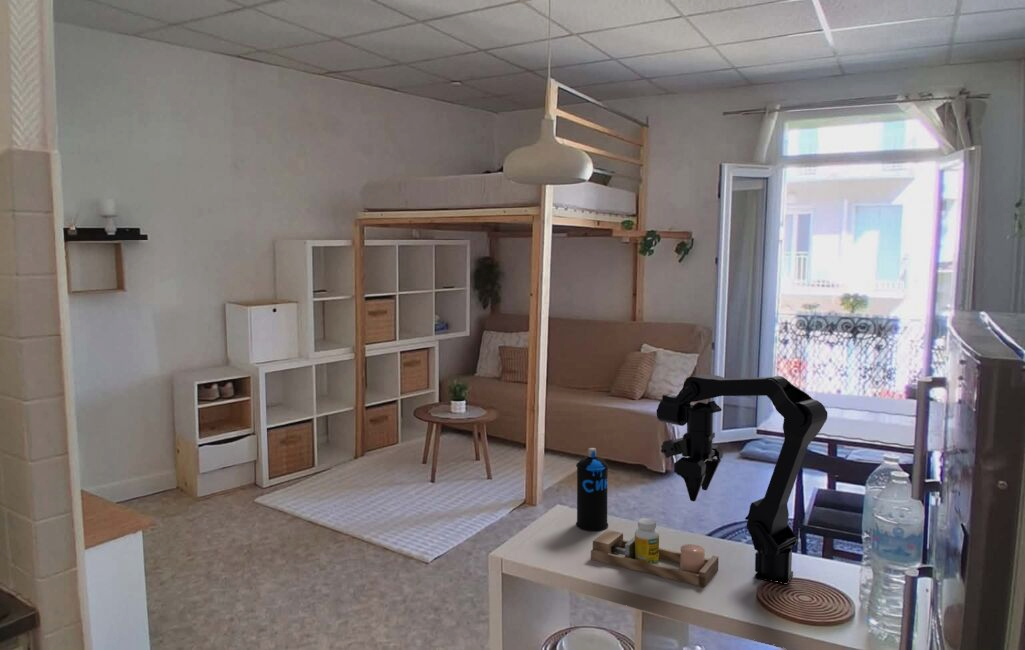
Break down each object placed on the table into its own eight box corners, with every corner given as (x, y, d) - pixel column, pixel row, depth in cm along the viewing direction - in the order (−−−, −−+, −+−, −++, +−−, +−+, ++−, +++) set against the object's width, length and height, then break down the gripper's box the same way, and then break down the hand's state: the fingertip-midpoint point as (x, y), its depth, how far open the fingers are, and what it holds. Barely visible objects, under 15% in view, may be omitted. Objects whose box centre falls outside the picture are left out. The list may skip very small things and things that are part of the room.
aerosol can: (571, 521, 180) (571, 446, 179) (600, 518, 183) (600, 443, 181) (583, 533, 172) (583, 454, 171) (613, 529, 175) (614, 451, 173)
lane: (718, 569, 151) (718, 552, 151) (704, 587, 143) (704, 568, 143) (608, 544, 165) (609, 528, 165) (590, 559, 157) (590, 541, 157)
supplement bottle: (643, 555, 159) (644, 515, 158) (663, 563, 155) (664, 521, 154) (629, 562, 155) (629, 521, 154) (649, 570, 151) (650, 527, 150)
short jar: (707, 572, 150) (707, 547, 150) (700, 581, 146) (700, 555, 145) (684, 567, 153) (684, 542, 152) (677, 575, 148) (677, 550, 148)
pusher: (641, 553, 159) (641, 534, 159) (629, 565, 153) (629, 545, 153) (613, 547, 163) (613, 528, 163) (600, 558, 157) (600, 538, 157)
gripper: (678, 418, 172) (677, 479, 173) (651, 433, 156) (651, 501, 157) (723, 422, 166) (722, 486, 167) (701, 439, 150) (700, 509, 151)
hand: (698, 495), depth 161 cm, fingers open, 9 cm apart
